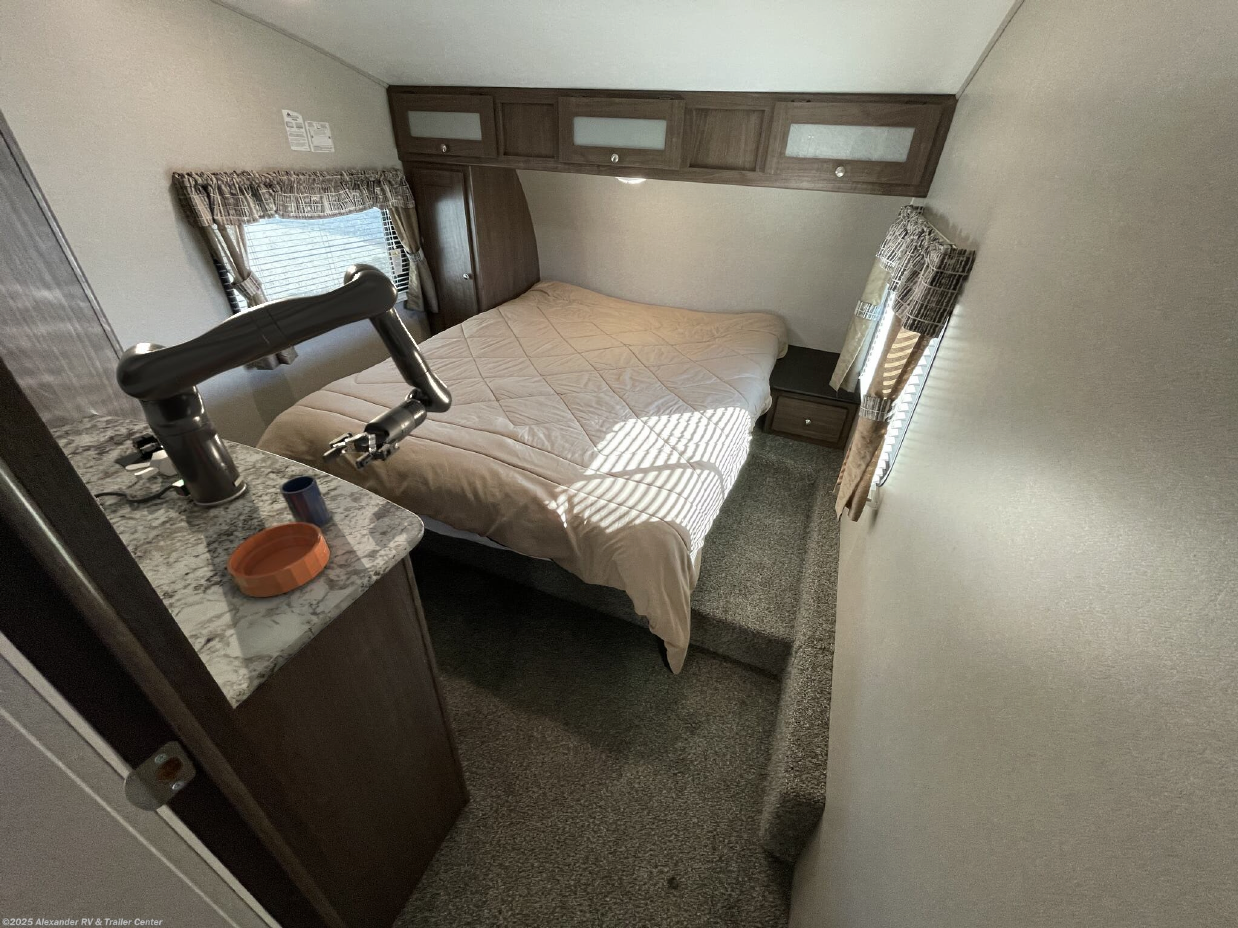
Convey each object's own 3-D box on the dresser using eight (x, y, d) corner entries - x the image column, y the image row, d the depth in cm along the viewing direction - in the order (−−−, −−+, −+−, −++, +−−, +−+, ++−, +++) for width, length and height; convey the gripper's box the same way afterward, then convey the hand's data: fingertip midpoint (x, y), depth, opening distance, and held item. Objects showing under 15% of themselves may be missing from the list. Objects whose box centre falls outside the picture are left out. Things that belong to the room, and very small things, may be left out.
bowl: (219, 589, 83) (205, 568, 81) (288, 536, 95) (277, 516, 92) (285, 606, 80) (273, 585, 77) (348, 549, 91) (339, 529, 89)
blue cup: (290, 527, 97) (272, 490, 92) (313, 509, 102) (297, 473, 97) (314, 532, 96) (297, 495, 91) (337, 514, 101) (322, 477, 96)
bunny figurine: (215, 446, 117) (134, 469, 106) (222, 465, 119) (144, 490, 108) (197, 436, 121) (118, 458, 110) (204, 455, 124) (127, 478, 112)
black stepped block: (128, 468, 117) (116, 452, 115) (115, 461, 120) (103, 444, 118) (186, 445, 126) (177, 429, 124) (173, 438, 129) (163, 423, 127)
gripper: (361, 410, 116) (307, 443, 103) (412, 417, 113) (363, 452, 100) (370, 438, 120) (320, 473, 107) (420, 445, 117) (374, 482, 104)
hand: (341, 463), depth 103 cm, fingers open, 8 cm apart
